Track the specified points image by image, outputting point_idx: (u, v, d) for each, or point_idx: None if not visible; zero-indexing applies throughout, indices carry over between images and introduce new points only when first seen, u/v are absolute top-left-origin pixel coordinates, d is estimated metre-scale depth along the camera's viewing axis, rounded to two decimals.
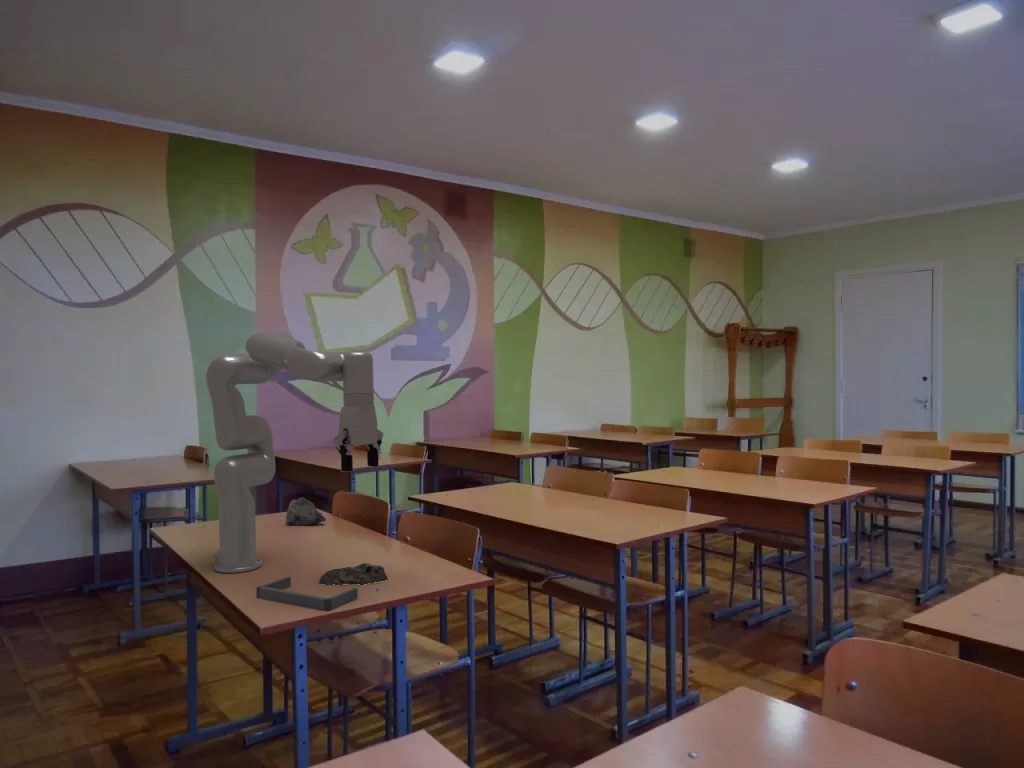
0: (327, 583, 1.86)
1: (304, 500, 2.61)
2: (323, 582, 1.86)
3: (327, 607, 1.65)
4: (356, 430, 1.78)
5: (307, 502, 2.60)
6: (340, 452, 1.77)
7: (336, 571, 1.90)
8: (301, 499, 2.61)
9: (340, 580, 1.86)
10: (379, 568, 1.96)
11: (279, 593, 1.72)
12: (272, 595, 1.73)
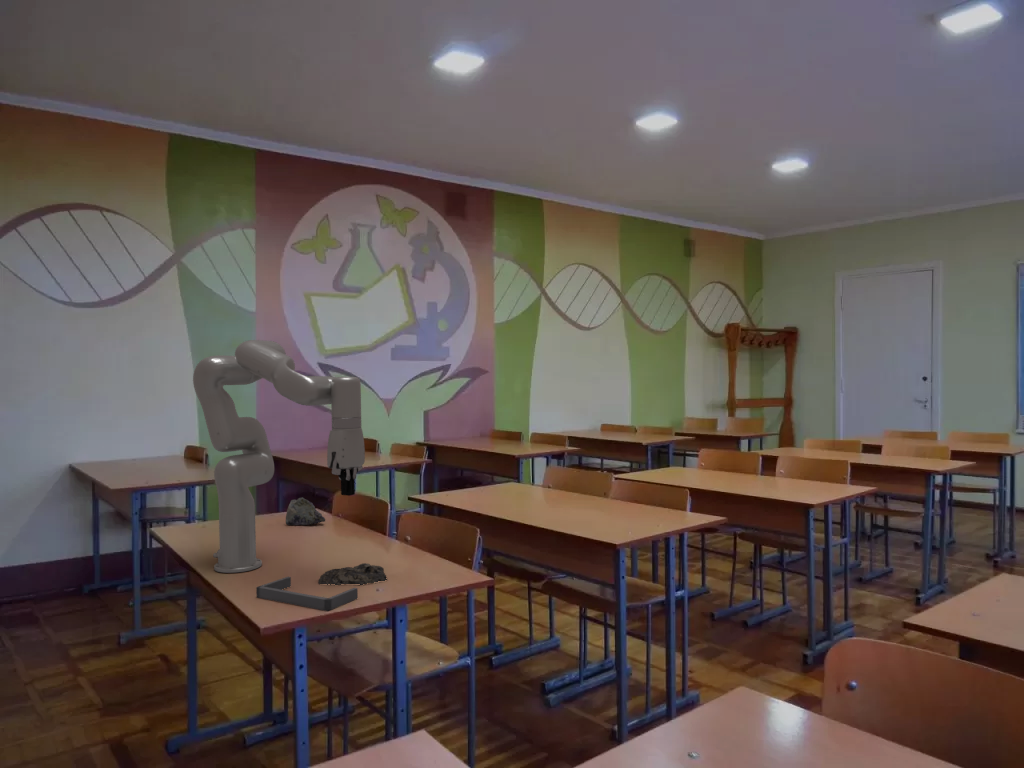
0: (326, 583, 1.86)
1: (304, 500, 2.60)
2: (322, 582, 1.87)
3: (327, 607, 1.65)
4: (344, 453, 1.83)
5: (307, 502, 2.60)
6: (340, 477, 1.86)
7: (335, 571, 1.90)
8: (301, 499, 2.61)
9: (339, 580, 1.86)
10: (379, 568, 1.96)
11: (279, 593, 1.72)
12: (272, 595, 1.73)
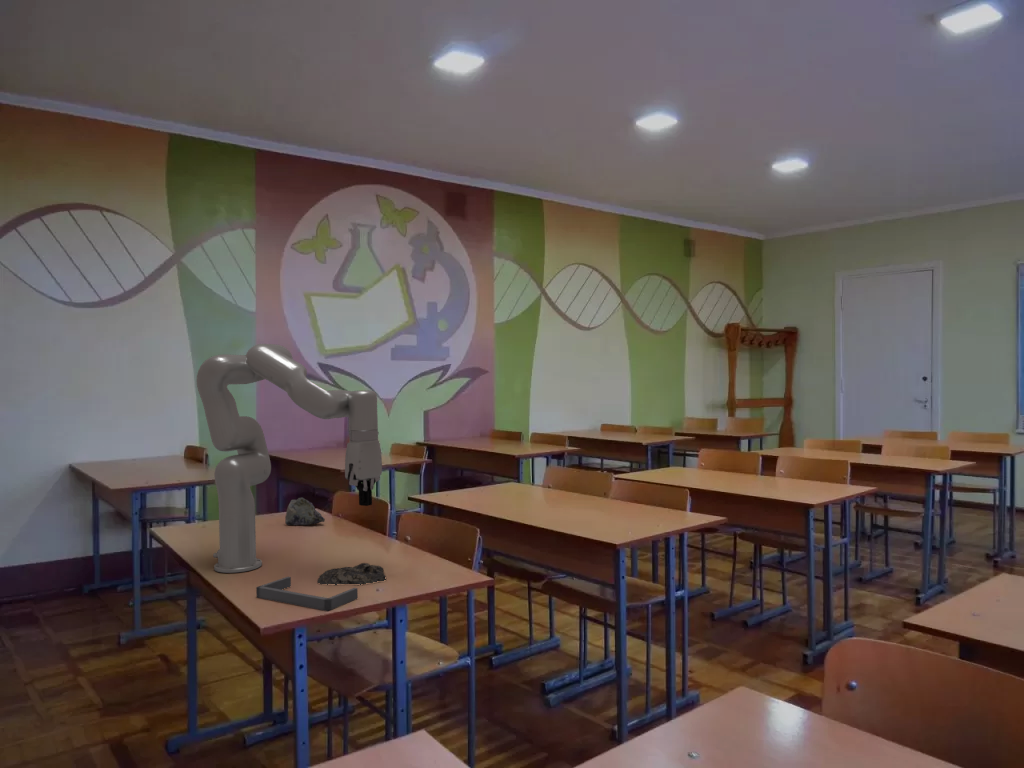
0: (325, 583, 1.86)
1: (303, 500, 2.60)
2: (321, 582, 1.87)
3: (327, 607, 1.65)
4: (360, 465, 1.89)
5: (306, 502, 2.60)
6: (358, 488, 1.92)
7: (335, 571, 1.90)
8: (300, 499, 2.61)
9: (338, 580, 1.86)
10: (378, 568, 1.96)
11: (279, 593, 1.72)
12: (272, 595, 1.73)
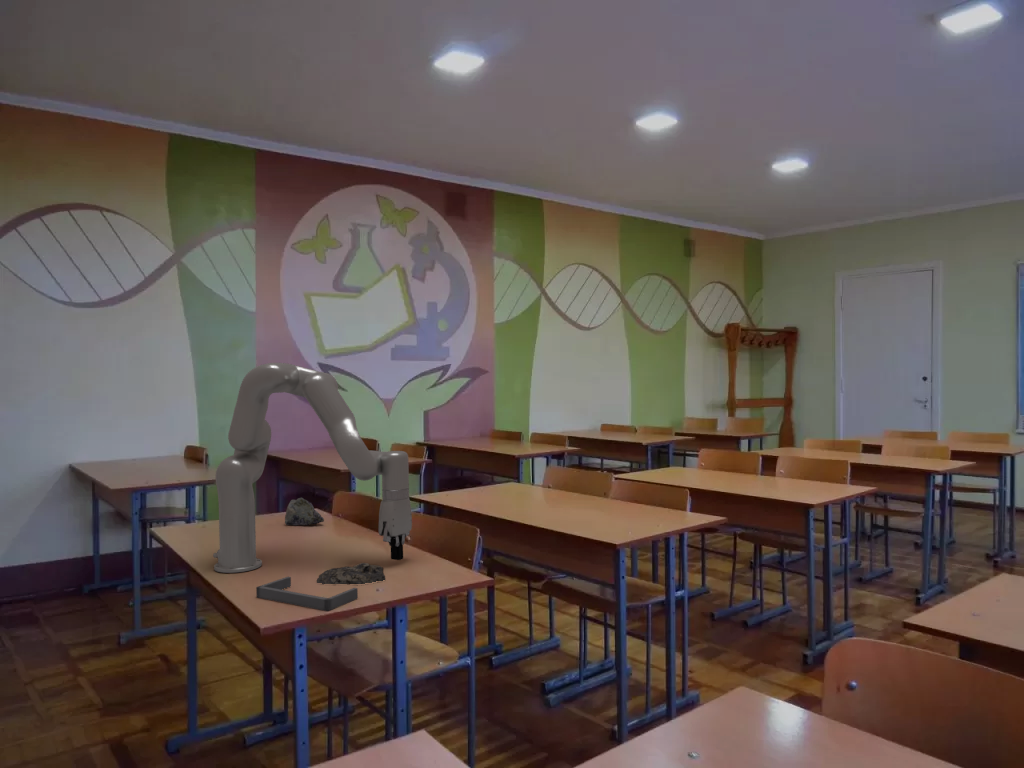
0: (324, 582, 1.87)
1: (303, 500, 2.60)
2: (320, 581, 1.87)
3: (327, 607, 1.65)
4: (394, 522, 2.01)
5: (306, 502, 2.60)
6: (390, 544, 2.04)
7: (334, 570, 1.90)
8: (300, 499, 2.60)
9: (337, 580, 1.86)
10: (378, 568, 1.96)
11: (279, 593, 1.72)
12: (272, 595, 1.73)
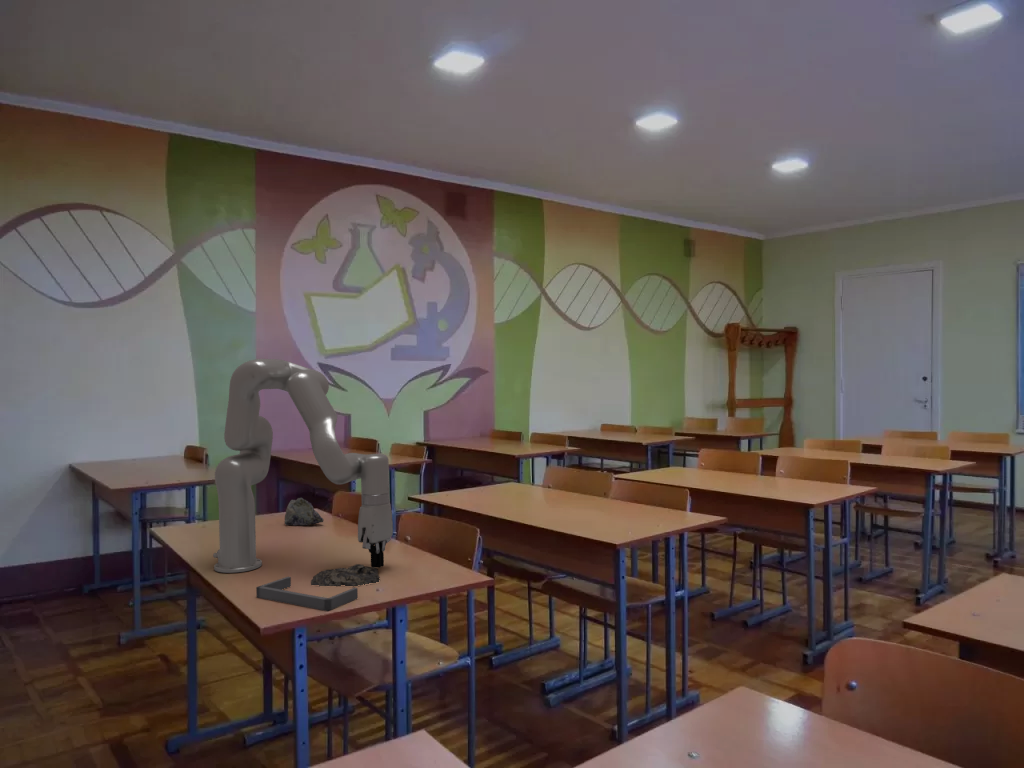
0: (318, 584, 1.85)
1: (302, 500, 2.60)
2: (315, 583, 1.86)
3: (327, 607, 1.65)
4: (373, 528, 1.93)
5: (305, 502, 2.60)
6: (370, 551, 1.96)
7: (328, 572, 1.89)
8: (299, 499, 2.60)
9: (331, 581, 1.85)
10: (372, 569, 1.94)
11: (279, 593, 1.72)
12: (272, 595, 1.73)
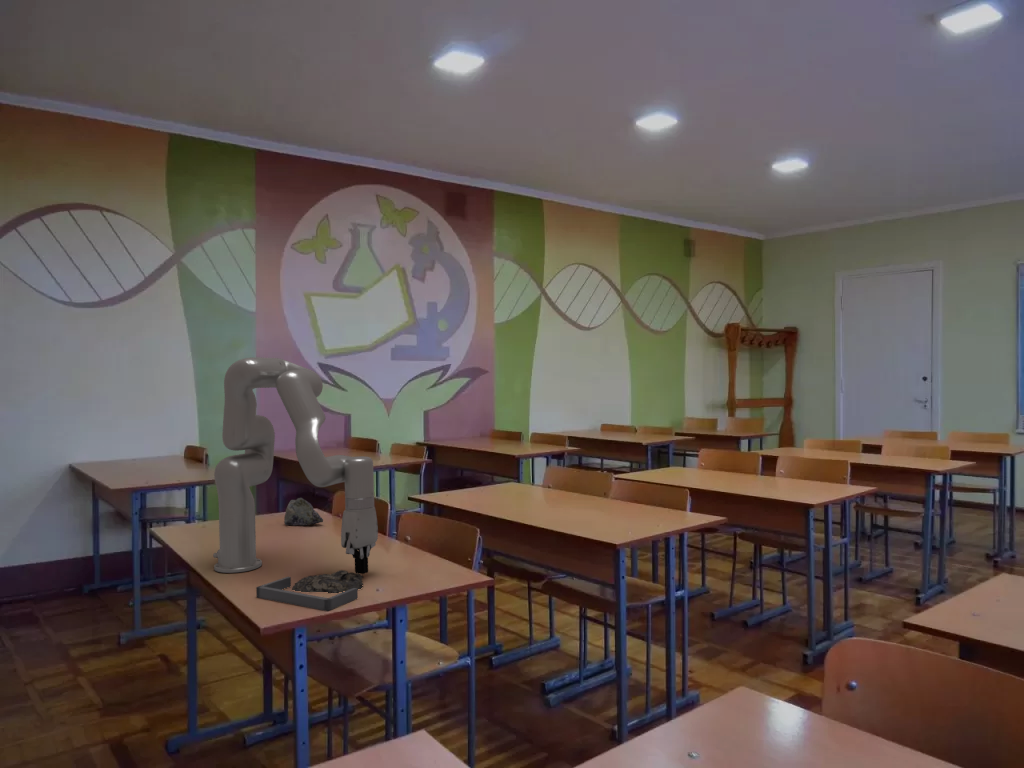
0: None
1: (302, 500, 2.60)
2: (296, 589, 1.81)
3: (327, 607, 1.65)
4: (357, 533, 1.88)
5: (305, 502, 2.60)
6: (354, 556, 1.90)
7: (310, 578, 1.84)
8: (299, 499, 2.60)
9: (313, 588, 1.80)
10: (357, 576, 1.89)
11: (279, 593, 1.72)
12: (272, 595, 1.73)
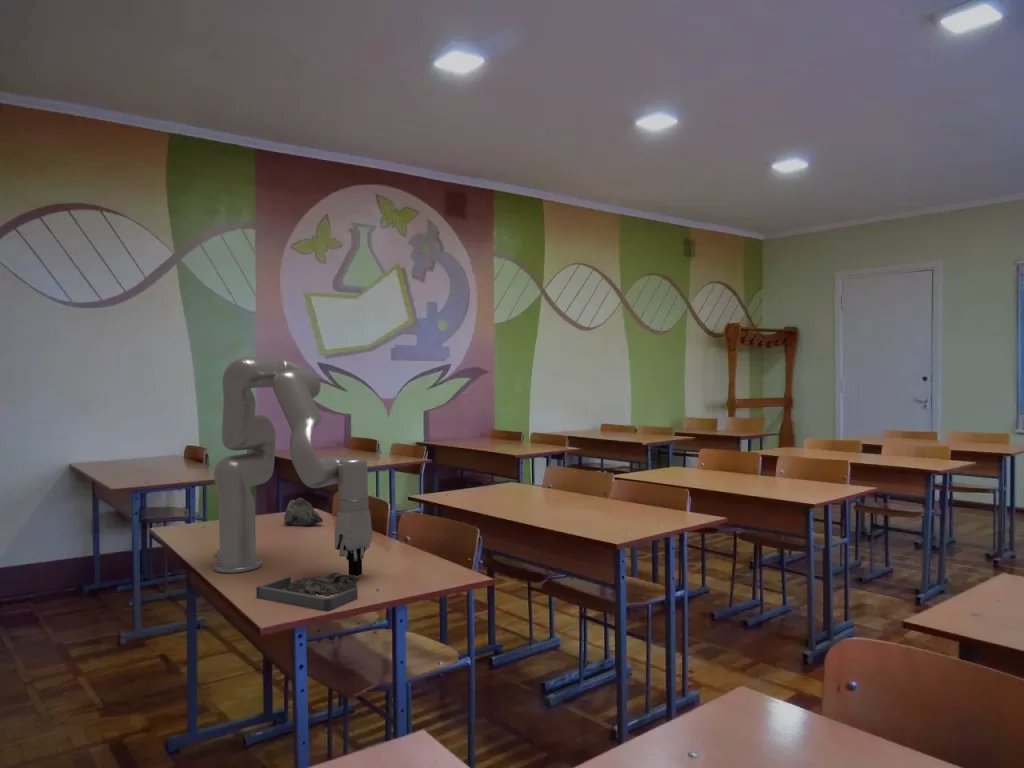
0: None
1: (302, 500, 2.60)
2: None
3: (327, 607, 1.65)
4: (351, 535, 1.85)
5: (305, 502, 2.60)
6: (348, 558, 1.88)
7: (303, 580, 1.82)
8: (299, 499, 2.60)
9: (305, 591, 1.78)
10: (350, 578, 1.87)
11: (279, 593, 1.72)
12: (272, 595, 1.73)
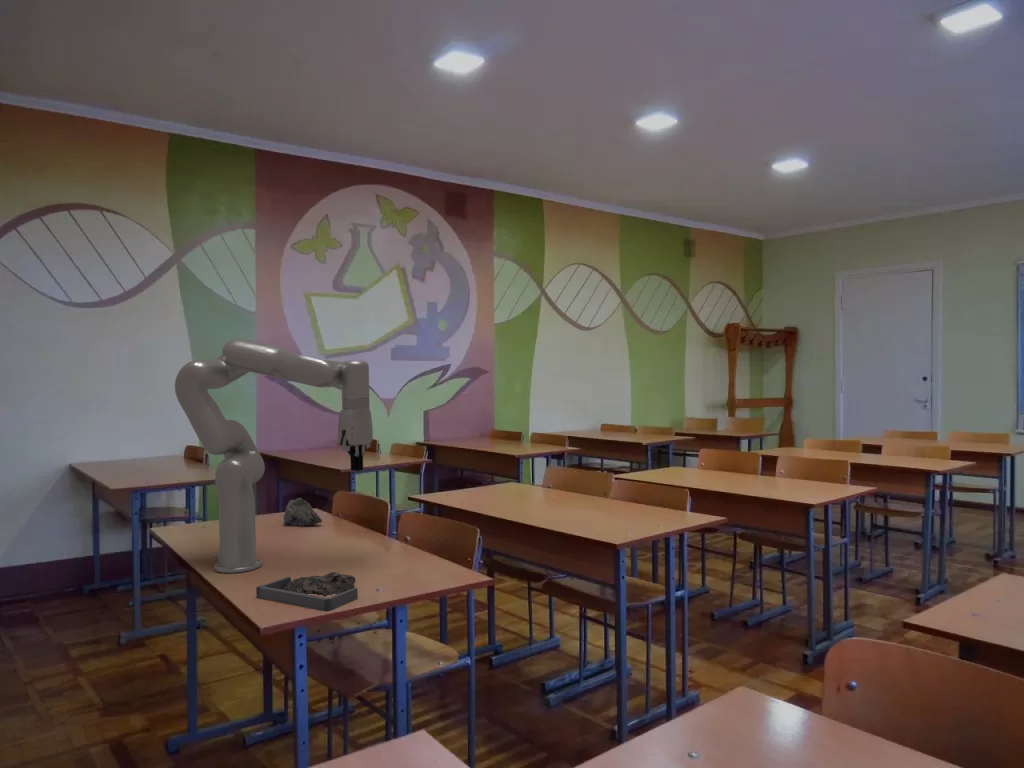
0: None
1: (301, 501, 2.60)
2: None
3: (327, 607, 1.65)
4: (353, 431, 1.99)
5: (304, 503, 2.59)
6: (350, 454, 2.01)
7: (301, 580, 1.82)
8: (298, 499, 2.60)
9: (303, 590, 1.78)
10: (349, 578, 1.87)
11: (279, 593, 1.72)
12: (272, 595, 1.73)
